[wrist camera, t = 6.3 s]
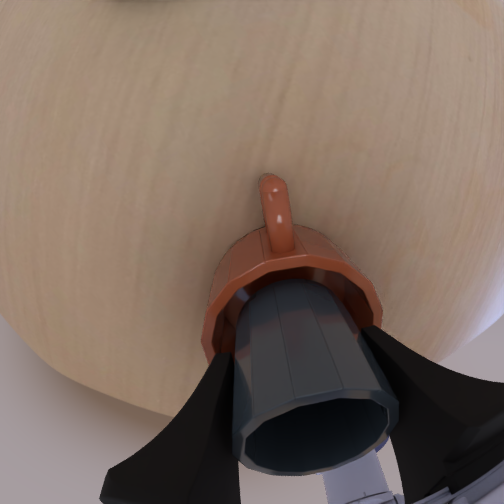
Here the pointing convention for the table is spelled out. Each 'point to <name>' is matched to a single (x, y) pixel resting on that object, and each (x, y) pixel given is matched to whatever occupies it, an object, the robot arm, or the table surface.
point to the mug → (281, 270)
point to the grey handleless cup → (305, 383)
